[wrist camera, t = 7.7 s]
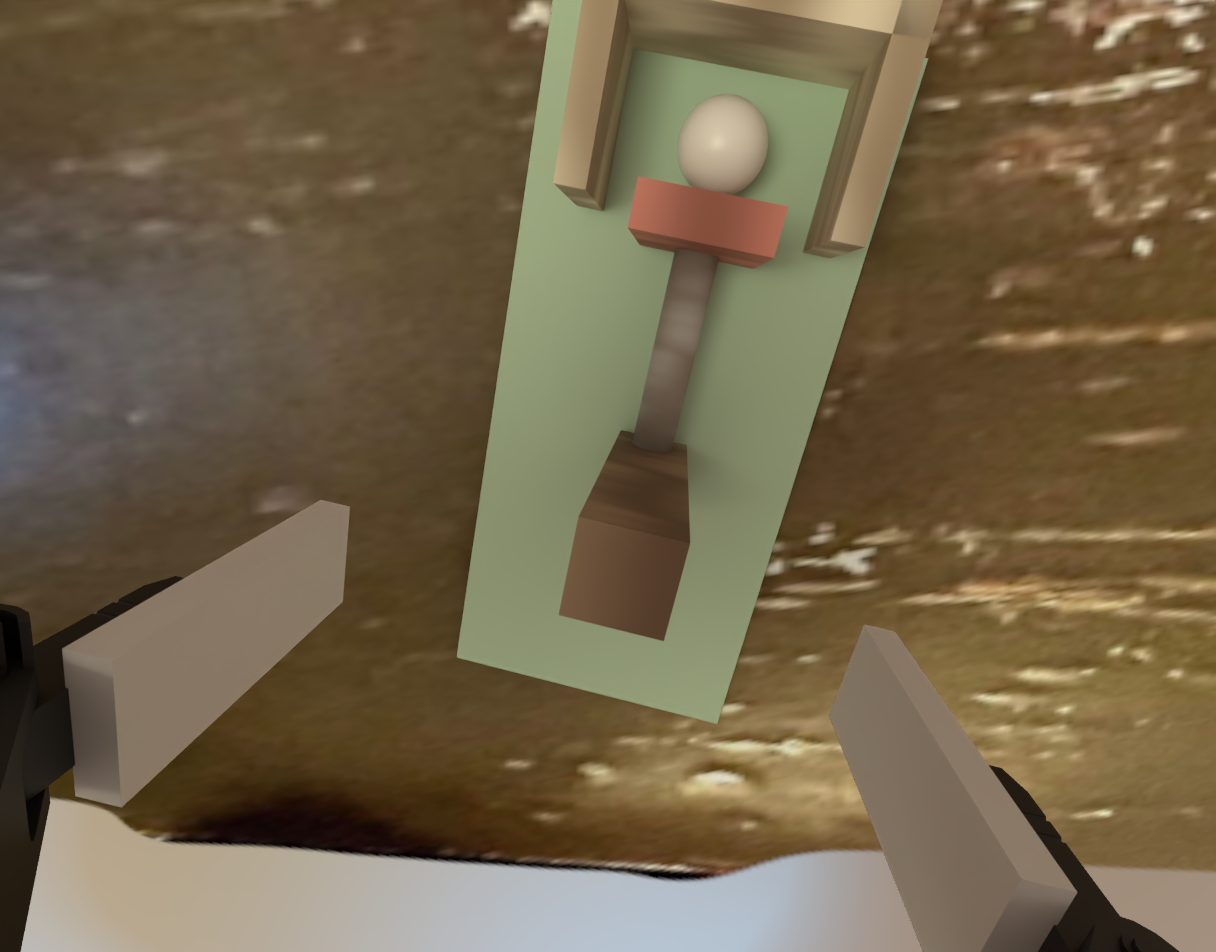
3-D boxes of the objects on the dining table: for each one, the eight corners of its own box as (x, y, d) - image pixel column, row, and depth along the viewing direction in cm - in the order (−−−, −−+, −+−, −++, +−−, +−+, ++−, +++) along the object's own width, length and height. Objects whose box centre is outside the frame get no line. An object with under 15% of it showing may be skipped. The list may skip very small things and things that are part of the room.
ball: (692, 76, 23) (674, 171, 25) (682, 98, 20) (663, 200, 23) (780, 93, 23) (754, 186, 25) (781, 117, 20) (751, 218, 23)
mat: (459, 653, 33) (456, 657, 33) (556, -6, 24) (554, -11, 24) (716, 719, 33) (717, 724, 32) (924, 62, 23) (928, 58, 23)
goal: (577, 205, 26) (552, 183, 21) (610, 8, 23) (593, -67, 19) (830, 258, 25) (865, 247, 20) (889, 60, 23) (944, -5, 18)
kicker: (589, 487, 29) (529, 607, 17) (648, 206, 25) (619, 121, 14) (689, 511, 29) (694, 648, 17) (763, 229, 25) (834, 163, 13)
